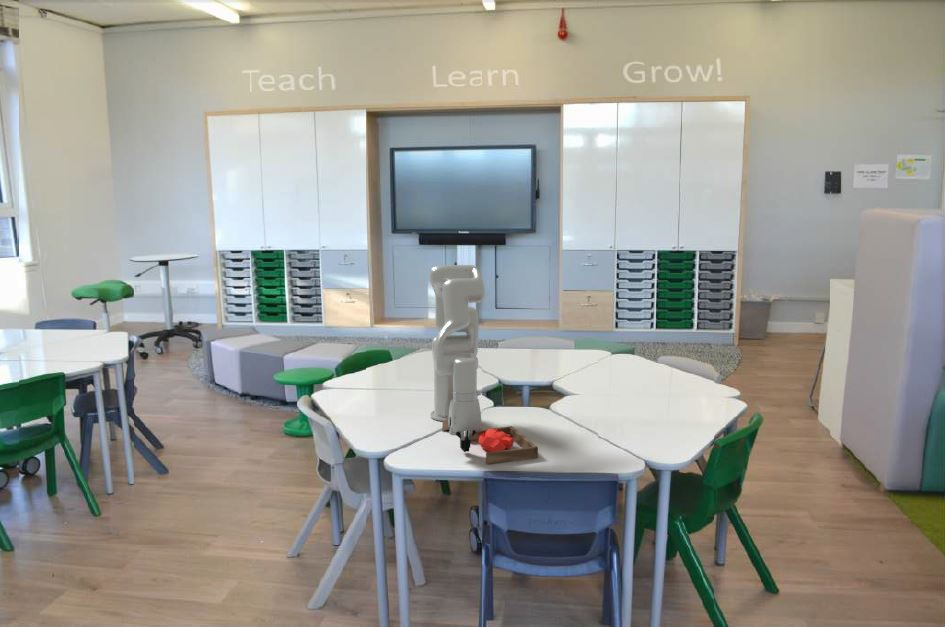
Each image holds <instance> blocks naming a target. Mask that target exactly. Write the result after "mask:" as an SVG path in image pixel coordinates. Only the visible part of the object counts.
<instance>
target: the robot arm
mask: <svg viewBox="0 0 945 627" xmlns="http://www.w3.org/2000/svg"><path fill="white" fill-rule="evenodd" d="M429 281H430V285H431V287H432V290H433V292H434V297H435V326H436V330H437V331H438V333H437V335H436V336H435V337H433V339H432V341H431V344H430V345H431V352H432V361H433V377H434V378H433V388H434V389H433V390H434V395H433V396H434V398H433V399H434V401H433V402H434V403H433V404H434V408H433V409H434V410H432V411H431V412H430V418H431V419H433V420H435V421H441V422H443V420H446V419H448V425H449V428H450V429H448V430H449V431H448V434H449V435H451V436H455V437H456V436H457V437H458V438H459V445H460V446H459V447H460V450H462V451H463V452H464V453H466V452H467V453H468V452H470V448H471V442H470V440H471V439H472V436H473V435H474V434H475V433H478V432H480V431H481V430H482V413H481V412H482V411H481V404H480V401H479V398H478V397H479V396H480V395H482V392H481V391H480V390H477V389H478V386H477V385H478V371H477V370H478V369H479V368H478V367H479V358H478V352H479V314H478V311H477V309H476V308H475V307H473V306H469V304H470V303H472V304H473V303H482V302H483V301H484V299H485V294H486V289H485V283H484V280H483V277H482V276H481V273H480V270H479V268H478V267H477V266H476V265H473V264H444V265H443V264H442V265H436V266H434V267H433V266H432V267H431V269H430V271H429ZM455 333H462V334H455ZM465 431H466V436H465Z"/></svg>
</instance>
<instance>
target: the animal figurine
mask: <svg viewBox="0 0 945 627" xmlns="http://www.w3.org/2000/svg"><path fill="white" fill-rule="evenodd" d="M487 429H488V430H487V431H486V433H485V434H484V433H483V434H481V435H480V437H479V441H477V443H478V444H479V445H480V447H481V448H482V449H483V450H485V451H486V452H494V451H502V450H511V447H513V445H514V443H515V441H514V440H513V438H510V435H508V434H506V433H504V432H502V431H501V432H499V431H498V429H491V428H487Z"/></svg>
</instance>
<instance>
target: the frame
mask: <svg viewBox="0 0 945 627" xmlns="http://www.w3.org/2000/svg"><path fill="white" fill-rule="evenodd" d="M488 429H489V428H484V429H482V428H481V431H480V432H478V433H475V434H474V435H473V436H472V439H471V440H470V443H471V442H472V443H473V442H478V441H479V437H480V435H481V434H483V433H484V434H485V433H486V431H487V430H488ZM490 429H498V431H499V432H501V431H502V432H504V433H506V434H508V435H510V438H513V440H514V443H516V444H517V445H518V446H519V448H513V449H511V448H510V449H504V450H502V451H494V452H489V451H486V452H485V464H486V465H495V464H502V463H503V464H504V463H508V462H509V463H510V462H517V461H524V460H525V461H526V460H532V459H538V457H539V447H538V446H537V445H536V444H534V443H533V442H532V441H530V439H528V438H527V437H525V435H523V434H522V433H520V431H519V430H517V429H516V428H515V427H513V426H512V425H511V426H510V425H509V426H501V427H500V426H499V427H493V428H490ZM464 435H465V436H466V431H464Z"/></svg>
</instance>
